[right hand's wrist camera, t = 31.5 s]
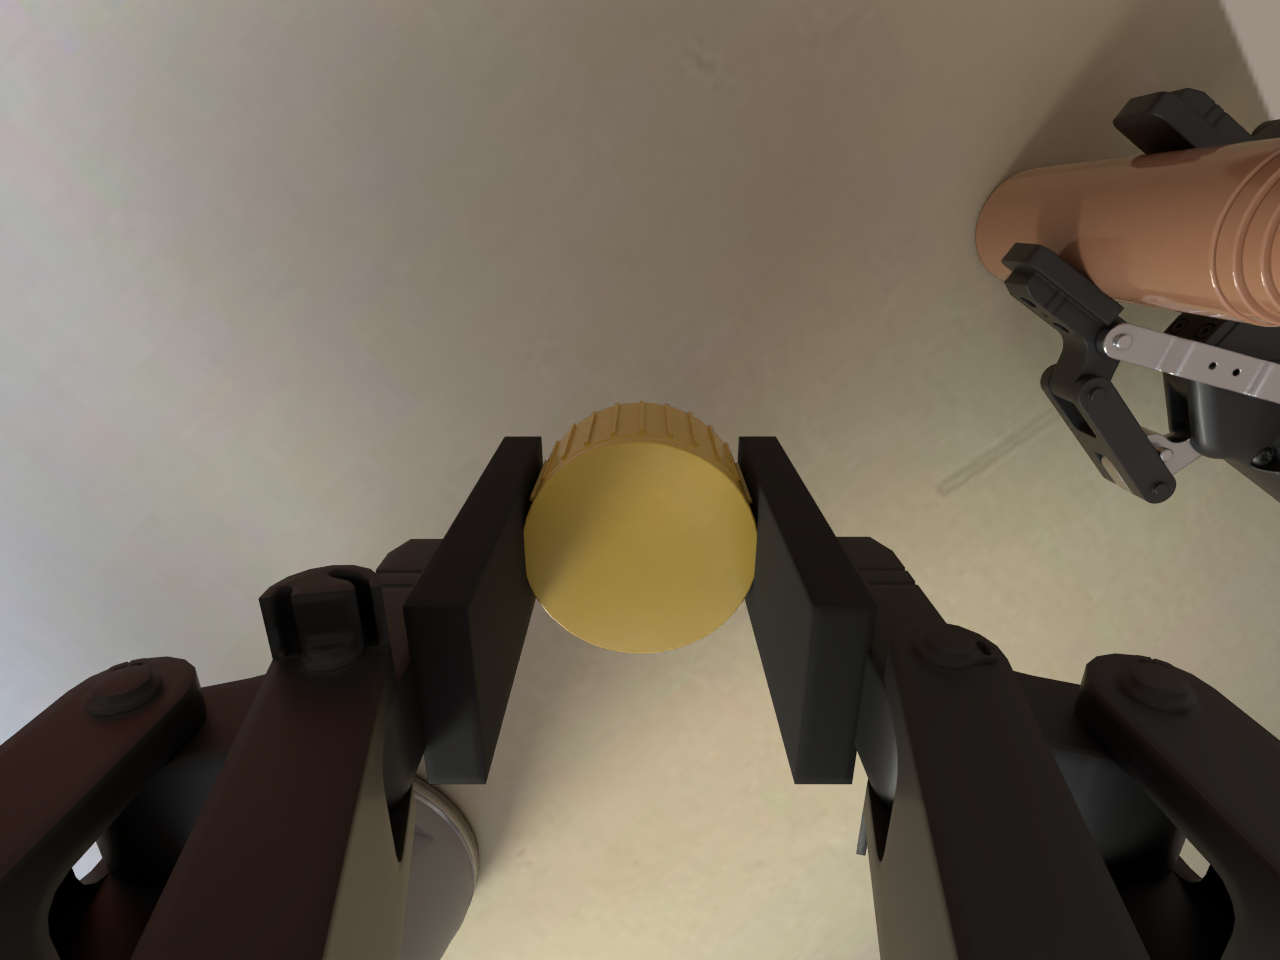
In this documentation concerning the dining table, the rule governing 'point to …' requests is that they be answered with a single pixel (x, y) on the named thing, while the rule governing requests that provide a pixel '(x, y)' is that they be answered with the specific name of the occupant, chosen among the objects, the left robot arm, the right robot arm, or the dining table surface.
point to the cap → (640, 530)
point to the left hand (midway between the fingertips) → (1077, 183)
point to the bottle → (1155, 227)
